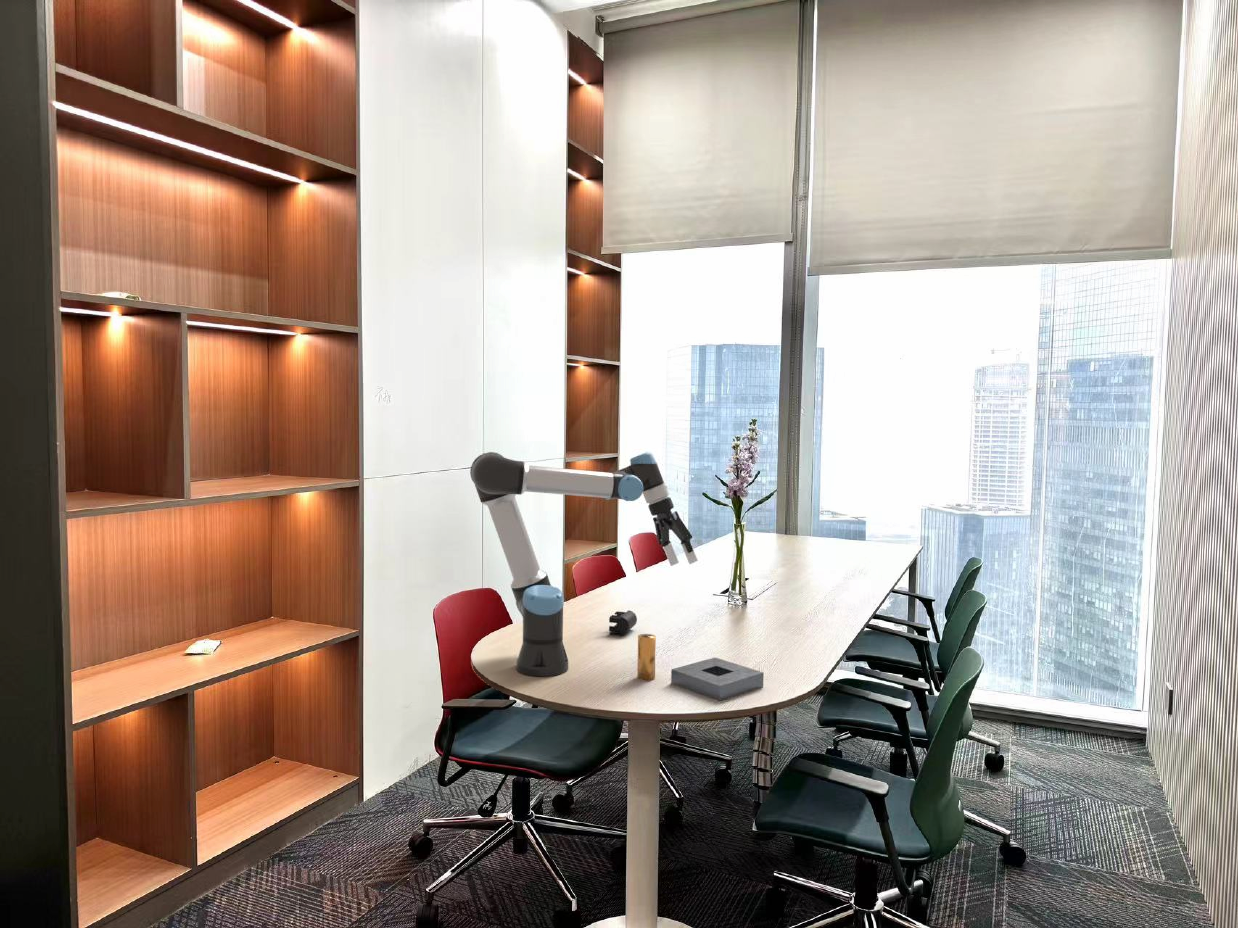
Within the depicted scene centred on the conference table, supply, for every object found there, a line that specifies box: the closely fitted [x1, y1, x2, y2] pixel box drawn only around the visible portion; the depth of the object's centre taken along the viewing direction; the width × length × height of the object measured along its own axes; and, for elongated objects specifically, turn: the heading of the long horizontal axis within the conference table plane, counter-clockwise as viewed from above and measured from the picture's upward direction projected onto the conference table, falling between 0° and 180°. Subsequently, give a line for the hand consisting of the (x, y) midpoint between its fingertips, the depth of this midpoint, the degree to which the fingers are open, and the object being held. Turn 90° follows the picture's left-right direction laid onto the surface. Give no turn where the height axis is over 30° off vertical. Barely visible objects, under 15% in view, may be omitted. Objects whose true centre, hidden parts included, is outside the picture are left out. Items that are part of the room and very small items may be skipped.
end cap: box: [608, 609, 638, 637], centre depth 284 cm, size 10×7×7 cm
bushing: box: [636, 633, 657, 681], centre depth 236 cm, size 5×5×12 cm
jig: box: [670, 657, 764, 702], centre depth 231 cm, size 18×18×4 cm
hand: (684, 563), depth 260 cm, fingers open, 13 cm apart
